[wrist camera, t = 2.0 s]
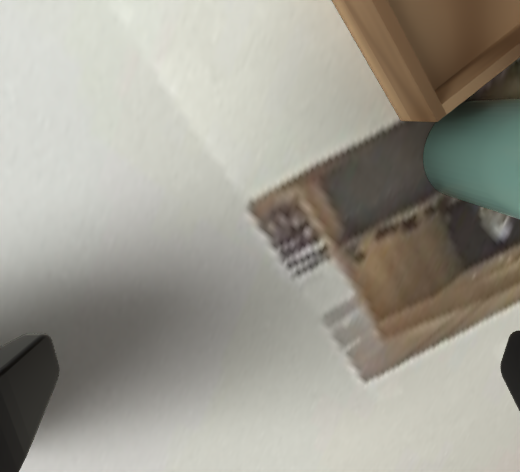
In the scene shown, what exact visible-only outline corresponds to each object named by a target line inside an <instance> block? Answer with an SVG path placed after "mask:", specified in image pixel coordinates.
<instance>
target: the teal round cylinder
mask: <svg viewBox="0 0 520 472" xmlns="http://www.w3.org/2000/svg"><path fill="white" fill-rule="evenodd" d="M423 163H424V170H425V173H426V176H427V178H428V180H429V182H430V183H431V184H432V186H433V187H434V188H435V189H436V190H438V191H439V192H441V193H443V194H444V195H447V196H450V197H453V198H457V199H460V200H463V201H466V202H469V203H472V204H475V205H478V206H481V207H484V208H487V209H490V210H493V211H496V212H499V213H502V214H505V215H508V216H511V217H514V218H517V219H520V98H517V99H495V100H474V101H467V102H463V103H461V104H460V105H458V106H457V107H456V108H455V109H453V110H452V111H451V112H449V113H448V114H447V115H446V116H444V117H443V118H442V119H441V120H439V121H438V122H436V123H435V124H434V126H433V127H432V129H431V131H430V133H429V135H428V137H427V140H426V143H425V147H424V153H423Z"/></svg>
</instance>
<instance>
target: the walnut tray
mask: <svg viewBox="0 0 520 472" xmlns="http://www.w3.org/2000/svg"><path fill="white" fill-rule="evenodd" d="M332 2H333V3H334V5H335V7H336V9H337V10H338V12H339V14H340V16H341V17H342V19H343V21H344V23H345V24H346V26H347V28H348V30H349V31H350V33H351V35H352V36H353V38H354V40H355V42H356V43H357V45H358V47H359V49H360V50H361V52H362V54H363V56H364V57H365V59H366V61H367V63H368V64H369V66H370V68H371V70H372V71H373V73H374V75H375V76H376V78H377V80H378V82H379V83H380V85H381V87H382V89H383V90H384V92H385V94H386V96H387V97H388V99H389V101H390V103H391V104H392V106H393V108H394V109H395V111H396V113H397V115H398V116H399V118H400V120H401V121H420V122H438V121H439V120H441V119H442V118H443V117H444V116H446V115H447V114H448V113H449V112H451V111H452V110H453V109H455V108H456V107H457V106H458V105H460V104H461V103H462V102H463V101H465V100H466V99H467V98H469V97H470V96H471V95H472V94H474V93H475V92H476V91H477V90H479V89H480V88H481V87H483V86H484V85H485V84H486V83H488V82H489V81H490V80H491V79H493V78H494V77H495V76H497V75H498V74H499V73H500V72H502V71H503V70H504V69H505V68H507V67H508V66H509V65H511V64H512V63H513V62H514V61H516V60H517V59H518V58H519V57H520V0H332Z"/></svg>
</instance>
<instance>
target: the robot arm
mask: <svg viewBox="0 0 520 472" xmlns="http://www.w3.org/2000/svg"><path fill="white" fill-rule="evenodd" d="M501 373H502V376H503V379H504V381H505V383H506V385H507V387H508V389H509V391H510V393H511V395H512V397H513V399H514V401H515V403H516V405H517V407H518V409H519V411H520V331H515V332H513V333H512V334H511V335H510V337H509V339H508V342H507V346H506V349H505V352H504V355H503V358H502V361H501ZM58 376H59V364H58V361H57V357H56V353H55V350H54V346H53V343H52V340H51V338H50V336H49V335H47V334H24V335H22V336H20V337H18V338H16V339H15V340H13V341H11V342H9V343H7V344H5V345H3V346H1V347H0V472H19V470H20V468H21V466H22V464H23V462H24V460H25V458H26V456H27V454H28V451H29V449H30V447H31V444H32V442H33V440H34V437H35V435H36V432H37V430H38V427H39V425H40V422H41V420H42V417H43V415H44V412H45V410H46V407H47V405H48V402H49V400H50V397H51V395H52V392H53V390H54V387H55V385H56V382H57V380H58Z"/></svg>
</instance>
